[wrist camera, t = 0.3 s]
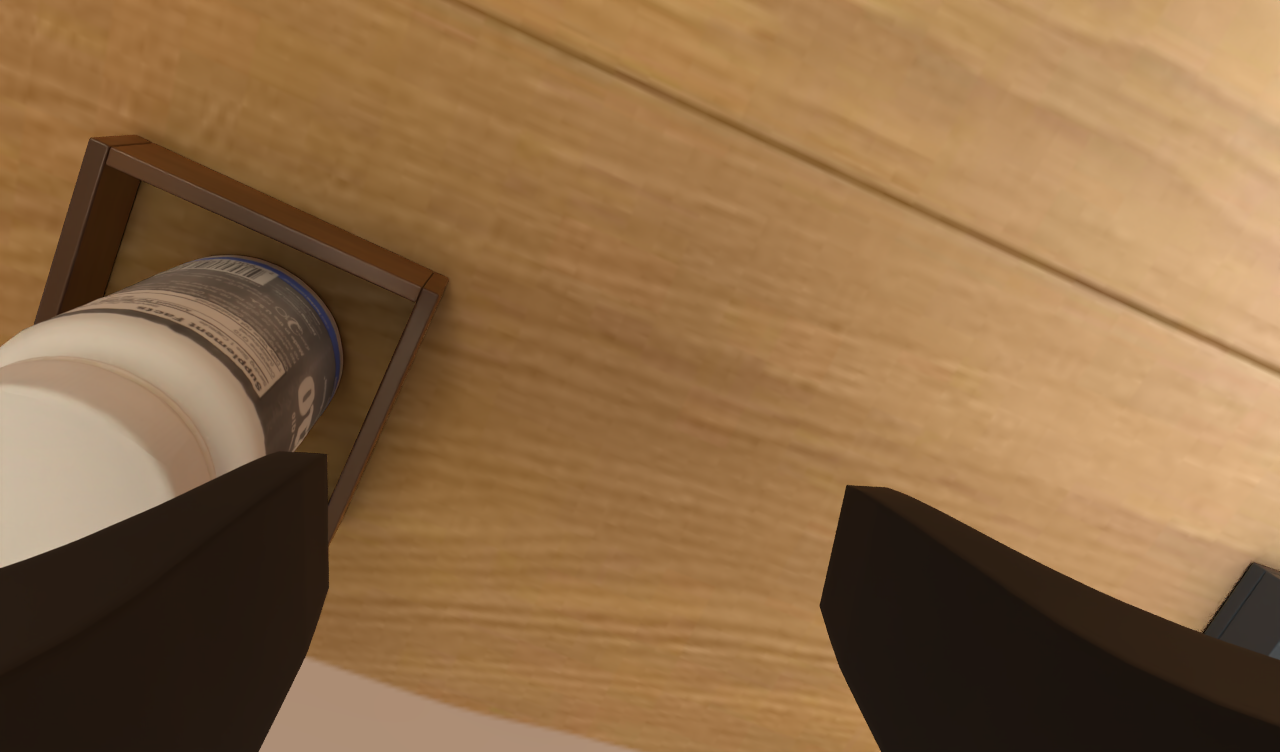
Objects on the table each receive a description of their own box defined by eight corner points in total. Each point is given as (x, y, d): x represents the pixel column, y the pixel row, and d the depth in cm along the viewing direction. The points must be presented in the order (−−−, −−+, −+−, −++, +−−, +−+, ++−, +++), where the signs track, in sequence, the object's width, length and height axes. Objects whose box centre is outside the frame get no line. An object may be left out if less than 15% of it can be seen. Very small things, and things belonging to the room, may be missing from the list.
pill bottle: (275, 470, 20) (94, 707, 12) (103, 358, 19) (-228, 543, 11) (387, 336, 19) (270, 497, 11) (215, 208, 18) (-54, 290, 10)
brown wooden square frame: (450, 278, 19) (439, 295, 17) (340, 522, 21) (322, 559, 19) (134, 133, 17) (88, 136, 15) (46, 415, 19) (-4, 445, 17)
